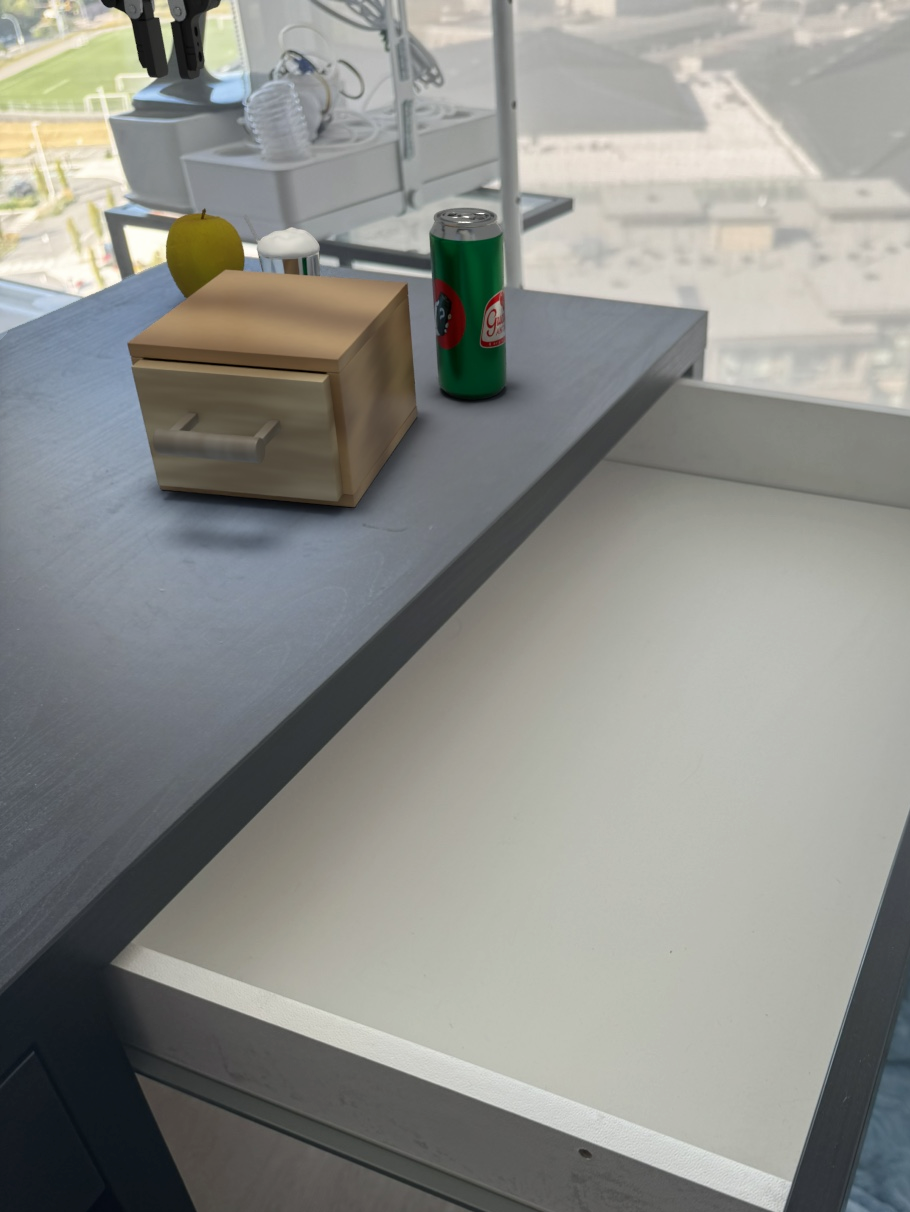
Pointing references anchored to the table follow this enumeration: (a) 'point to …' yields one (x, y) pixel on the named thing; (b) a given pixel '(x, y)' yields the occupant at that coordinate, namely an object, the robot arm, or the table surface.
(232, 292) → the cabinet
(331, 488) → the drawer
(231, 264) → the apple
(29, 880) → the table surface
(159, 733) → the table surface
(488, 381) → the soda can
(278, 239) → the milkshake
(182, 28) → the robot arm
